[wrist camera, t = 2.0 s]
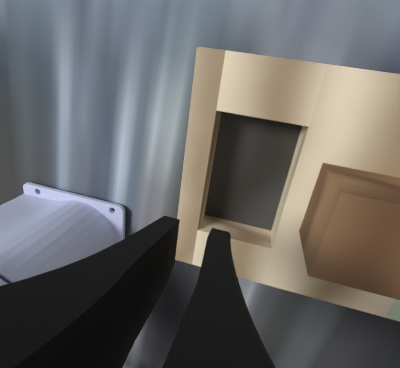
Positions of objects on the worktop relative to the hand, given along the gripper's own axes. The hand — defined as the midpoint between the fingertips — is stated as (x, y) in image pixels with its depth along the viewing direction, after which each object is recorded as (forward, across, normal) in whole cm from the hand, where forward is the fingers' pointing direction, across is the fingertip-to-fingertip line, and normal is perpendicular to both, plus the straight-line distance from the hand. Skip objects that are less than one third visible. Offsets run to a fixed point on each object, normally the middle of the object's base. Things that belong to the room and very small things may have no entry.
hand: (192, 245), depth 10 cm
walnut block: (+7, -8, 0) cm, 10 cm away
